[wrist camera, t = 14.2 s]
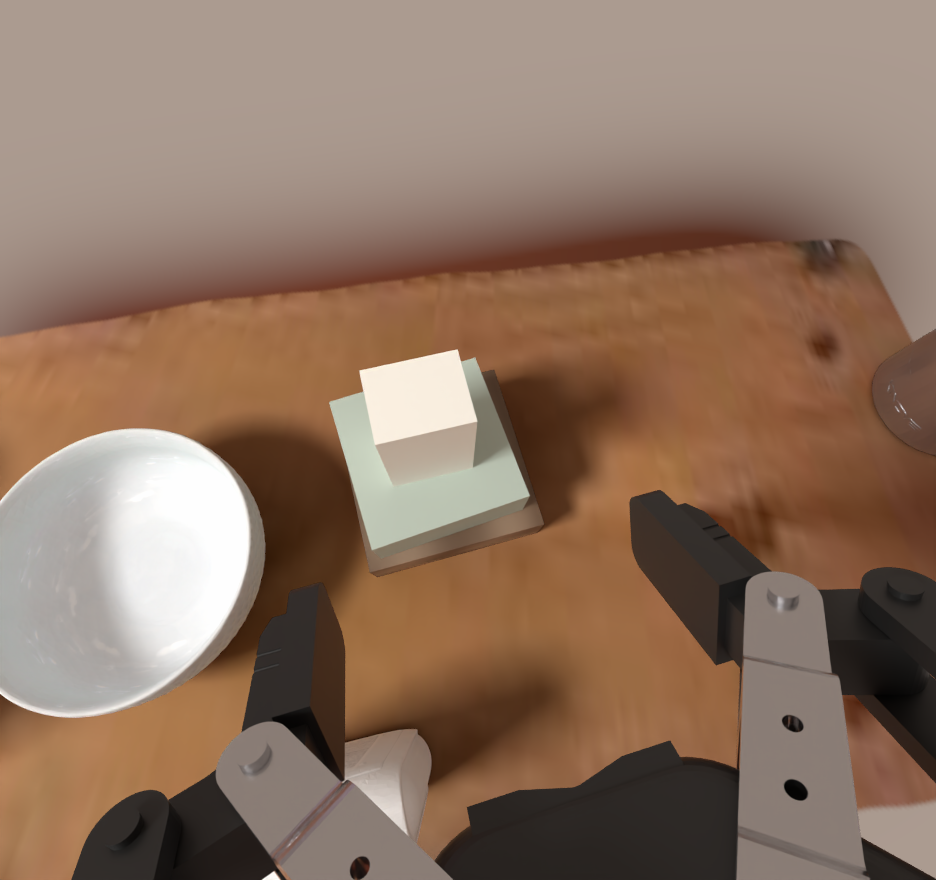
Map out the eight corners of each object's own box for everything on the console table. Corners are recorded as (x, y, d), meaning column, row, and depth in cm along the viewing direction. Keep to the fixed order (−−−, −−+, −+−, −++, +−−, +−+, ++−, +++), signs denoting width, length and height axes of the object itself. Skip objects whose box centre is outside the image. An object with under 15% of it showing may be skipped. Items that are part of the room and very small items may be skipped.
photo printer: (275, 838, 33) (174, 952, 21) (266, 760, 34) (168, 828, 23) (438, 791, 34) (428, 876, 22) (424, 718, 35) (407, 762, 24)
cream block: (457, 410, 35) (457, 349, 27) (472, 467, 33) (477, 421, 26) (380, 427, 34) (359, 370, 27) (393, 486, 33) (374, 445, 25)
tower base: (491, 391, 44) (494, 369, 40) (536, 533, 40) (544, 524, 36) (345, 427, 43) (334, 408, 39) (378, 577, 39) (369, 572, 35)
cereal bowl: (188, 416, 42) (137, 376, 36) (336, 560, 39) (310, 545, 32) (-5, 583, 38) (-104, 573, 31) (142, 762, 34) (66, 794, 28)
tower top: (473, 383, 40) (475, 357, 36) (522, 509, 37) (529, 495, 33) (341, 424, 38) (329, 402, 35) (381, 558, 35) (371, 550, 32)
